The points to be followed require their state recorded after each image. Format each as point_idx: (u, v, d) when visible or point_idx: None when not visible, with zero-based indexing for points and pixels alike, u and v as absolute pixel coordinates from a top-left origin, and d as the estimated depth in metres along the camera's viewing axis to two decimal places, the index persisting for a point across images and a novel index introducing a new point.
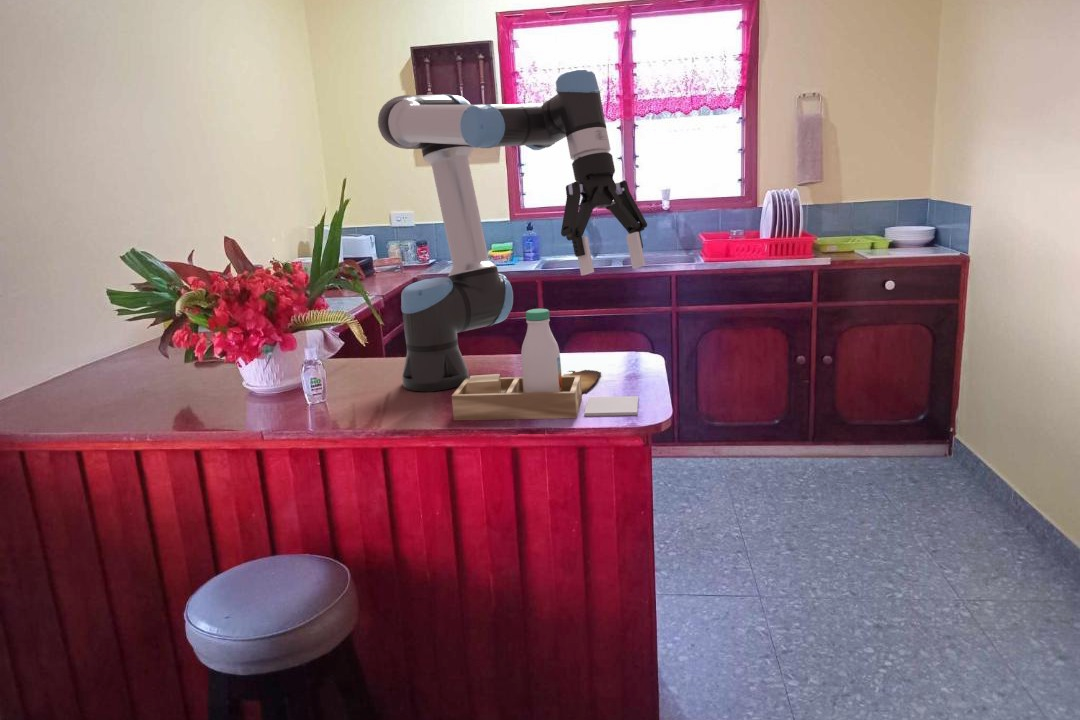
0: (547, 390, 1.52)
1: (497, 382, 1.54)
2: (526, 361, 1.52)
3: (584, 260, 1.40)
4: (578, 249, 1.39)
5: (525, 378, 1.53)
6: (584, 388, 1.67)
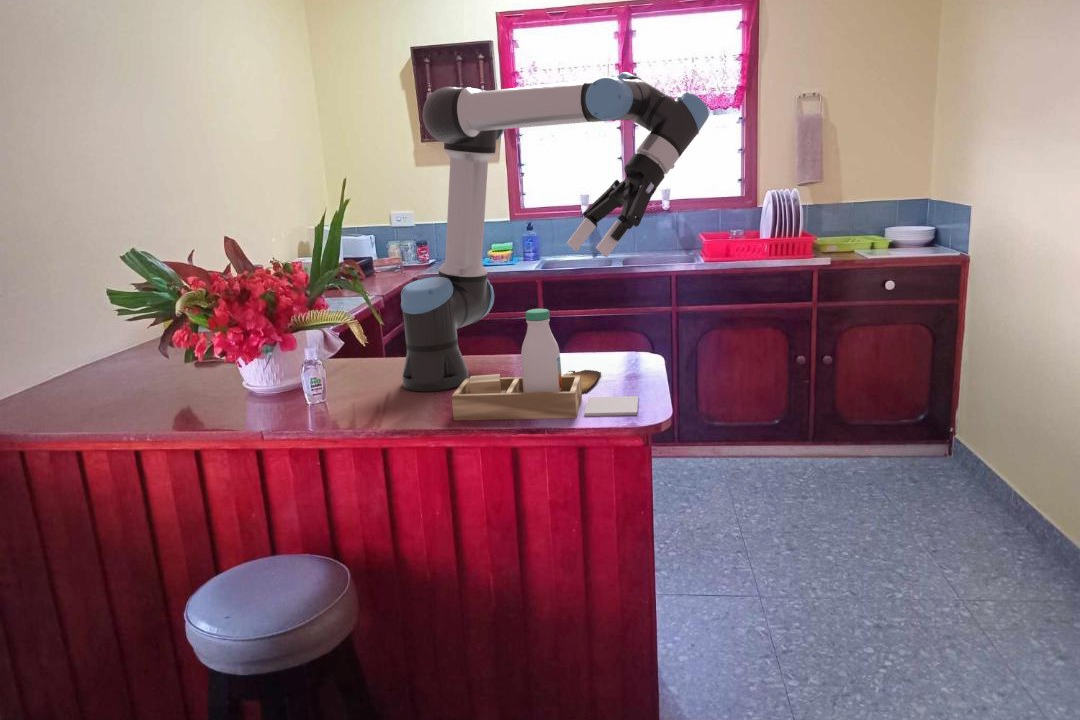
0: (547, 390, 1.52)
1: (498, 382, 1.55)
2: (526, 361, 1.52)
3: (611, 242, 1.46)
4: (621, 235, 1.45)
5: (525, 378, 1.53)
6: (584, 388, 1.67)
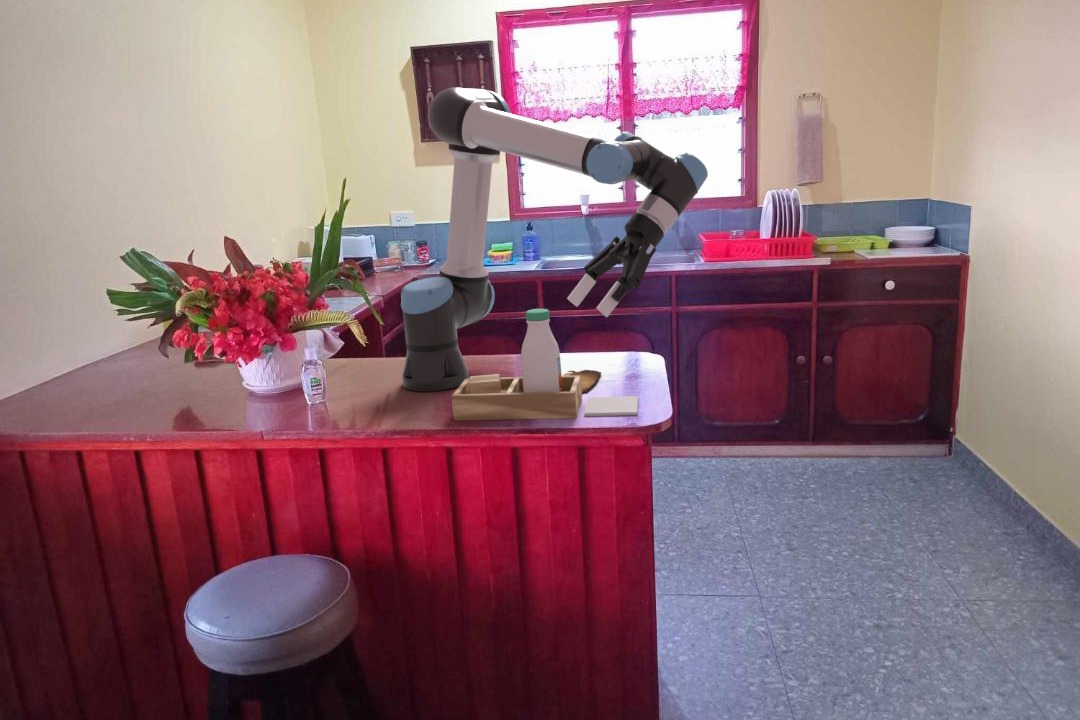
0: (547, 390, 1.52)
1: (498, 382, 1.54)
2: (526, 361, 1.52)
3: (611, 303, 1.49)
4: (621, 296, 1.48)
5: (525, 378, 1.53)
6: (584, 388, 1.67)
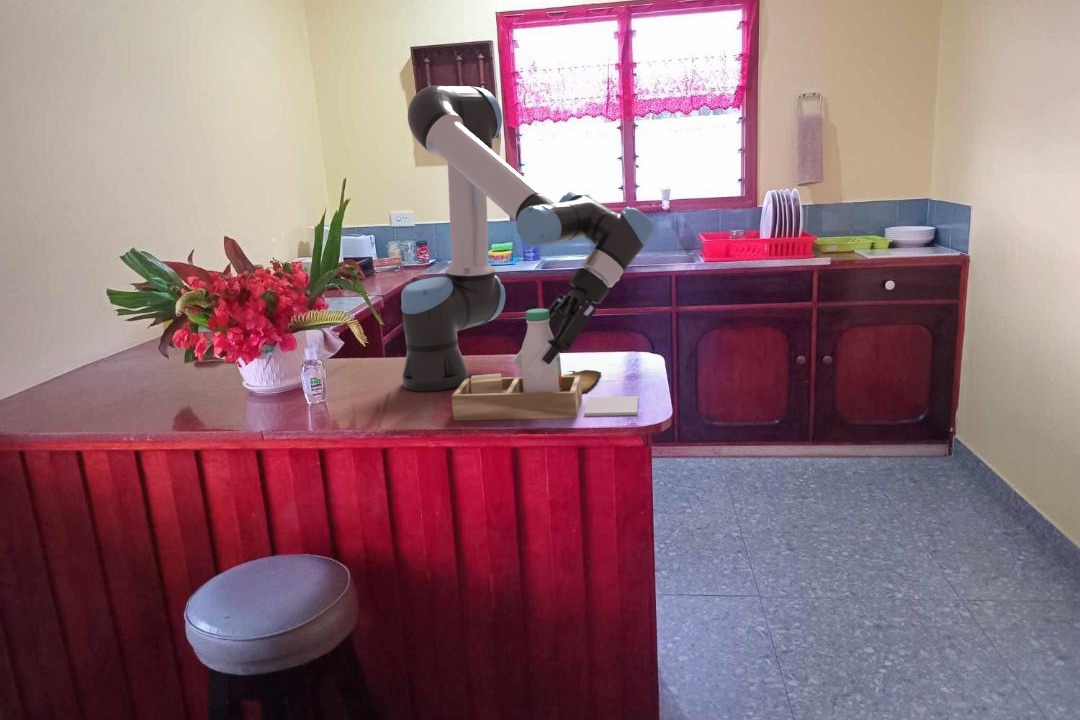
0: (547, 390, 1.52)
1: (500, 381, 1.55)
2: (526, 360, 1.52)
3: (542, 365, 1.49)
4: (551, 359, 1.49)
5: (525, 378, 1.53)
6: (584, 388, 1.67)
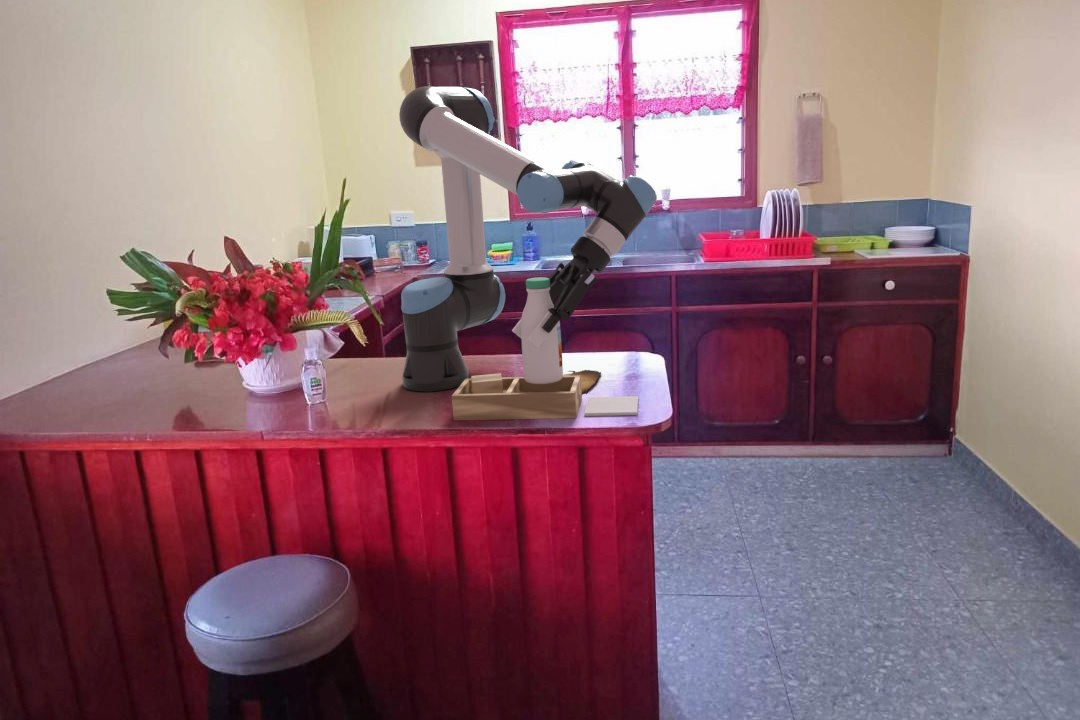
0: (547, 360, 1.50)
1: (501, 381, 1.55)
2: (525, 330, 1.50)
3: (542, 334, 1.48)
4: (551, 328, 1.47)
5: (524, 347, 1.51)
6: (584, 388, 1.67)
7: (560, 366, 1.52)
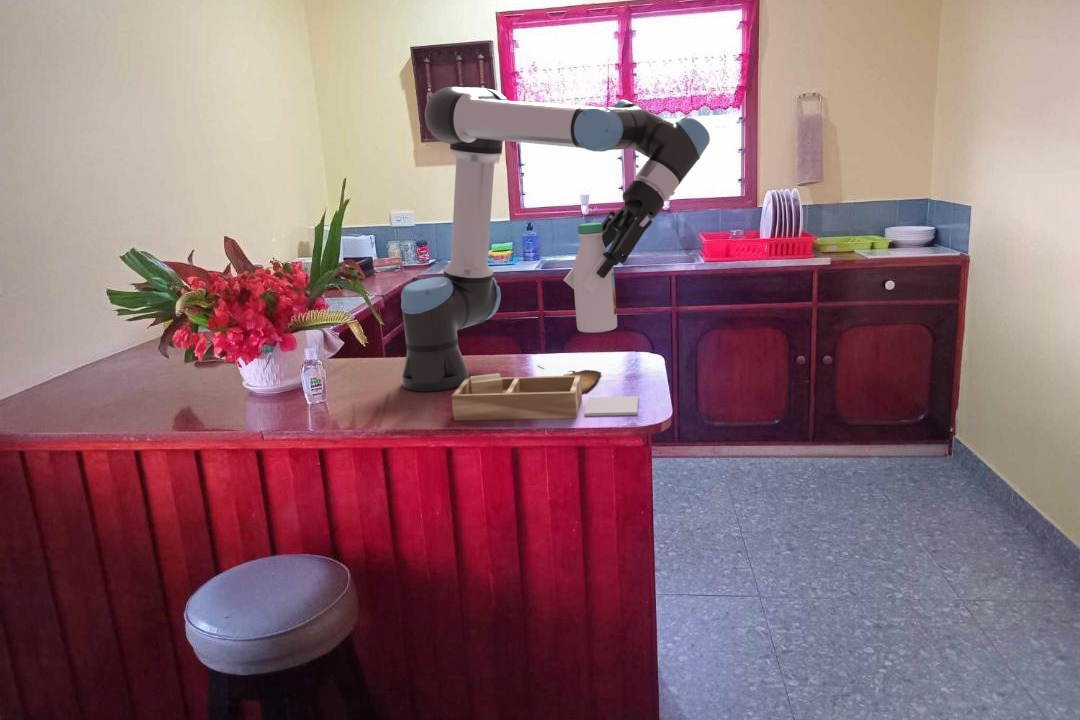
0: (601, 306, 1.46)
1: (501, 381, 1.55)
2: (578, 276, 1.46)
3: (596, 279, 1.43)
4: (606, 272, 1.43)
5: (578, 295, 1.47)
6: (584, 388, 1.67)
7: (615, 314, 1.48)
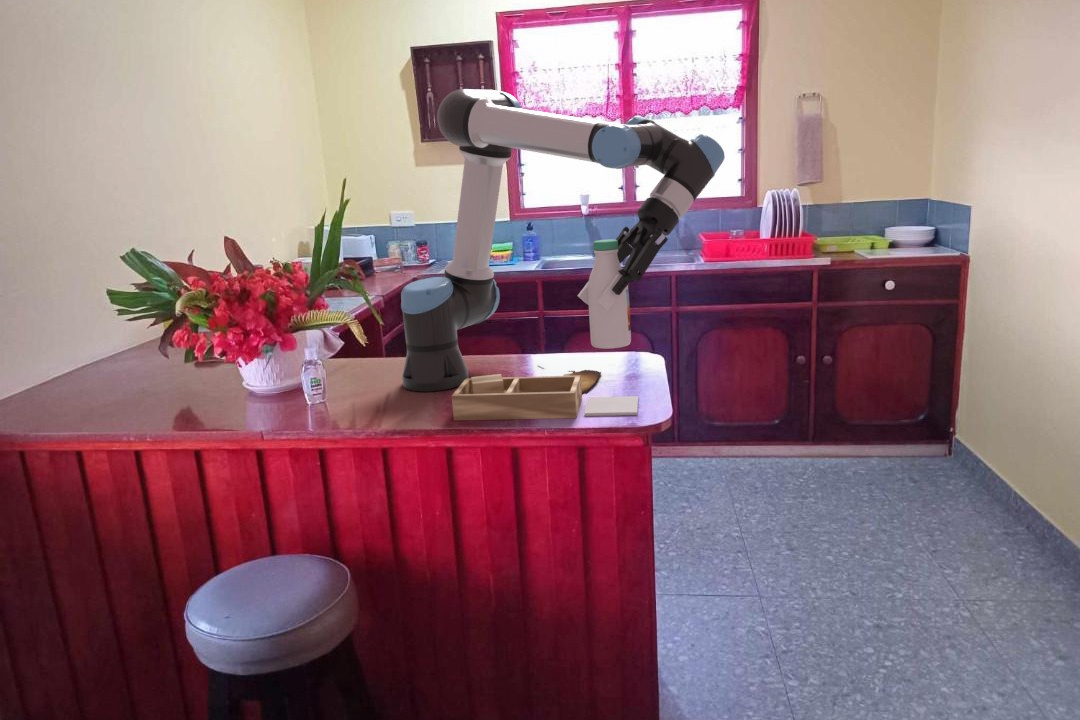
0: (616, 323, 1.46)
1: (502, 382, 1.55)
2: (594, 292, 1.46)
3: (612, 296, 1.44)
4: (622, 290, 1.43)
5: (593, 311, 1.47)
6: (584, 388, 1.67)
7: (629, 330, 1.49)
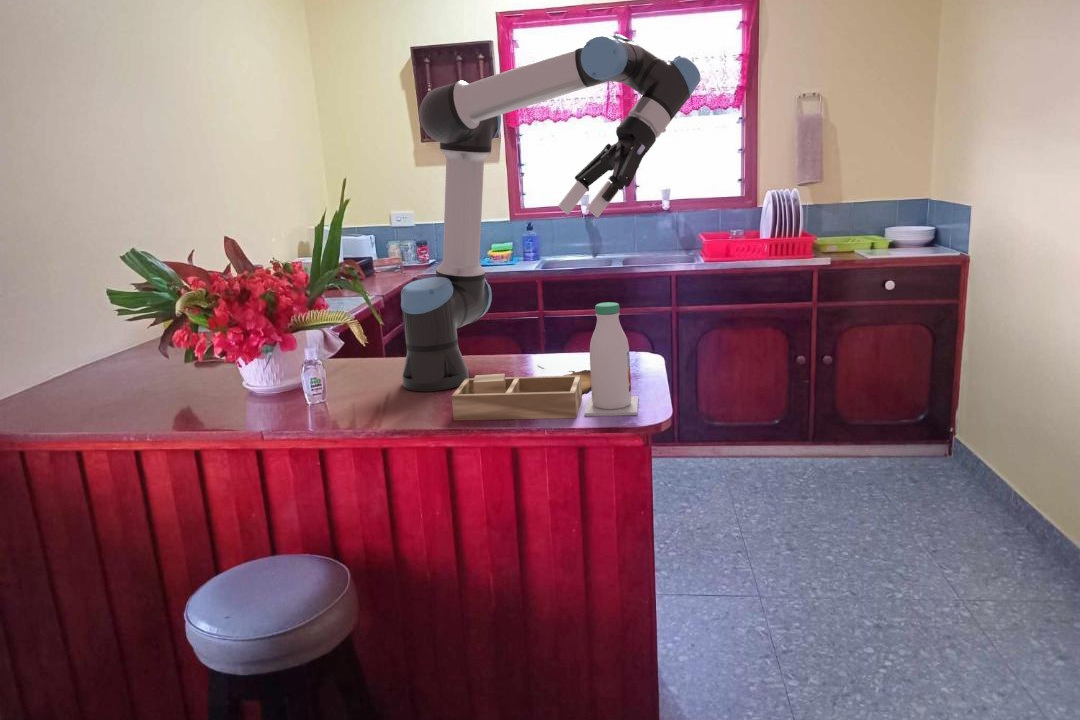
0: (617, 385, 1.50)
1: (503, 382, 1.55)
2: (595, 355, 1.50)
3: (601, 203, 1.47)
4: (611, 196, 1.46)
5: (594, 373, 1.51)
6: (584, 388, 1.67)
7: (629, 391, 1.52)
